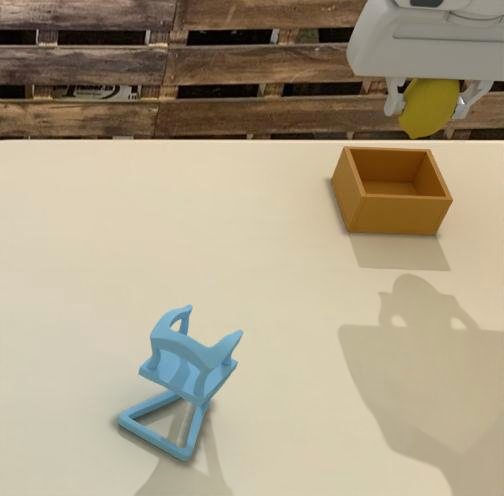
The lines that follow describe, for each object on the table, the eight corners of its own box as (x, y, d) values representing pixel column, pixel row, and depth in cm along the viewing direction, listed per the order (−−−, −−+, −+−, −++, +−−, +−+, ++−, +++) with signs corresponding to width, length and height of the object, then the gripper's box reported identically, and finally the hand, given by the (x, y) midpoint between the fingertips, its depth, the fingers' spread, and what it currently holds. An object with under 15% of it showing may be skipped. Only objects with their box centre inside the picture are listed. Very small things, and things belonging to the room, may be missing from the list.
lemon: (402, 119, 102) (433, 47, 96) (447, 139, 100) (482, 66, 94) (377, 137, 100) (407, 65, 94) (422, 158, 98) (456, 85, 91)
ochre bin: (413, 184, 110) (430, 149, 106) (435, 235, 104) (453, 200, 100) (330, 180, 110) (343, 145, 106) (347, 231, 104) (361, 196, 101)
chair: (230, 413, 87) (265, 317, 77) (185, 463, 83) (216, 368, 74) (162, 377, 90) (188, 279, 80) (116, 423, 86) (137, 327, 76)
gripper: (581, -35, 88) (509, 103, 100) (372, -42, 89) (324, 96, 100) (604, -5, 85) (527, 134, 96) (386, -13, 85) (335, 127, 96)
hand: (422, 114), depth 98 cm, fingers closed on lemon, 5 cm apart
